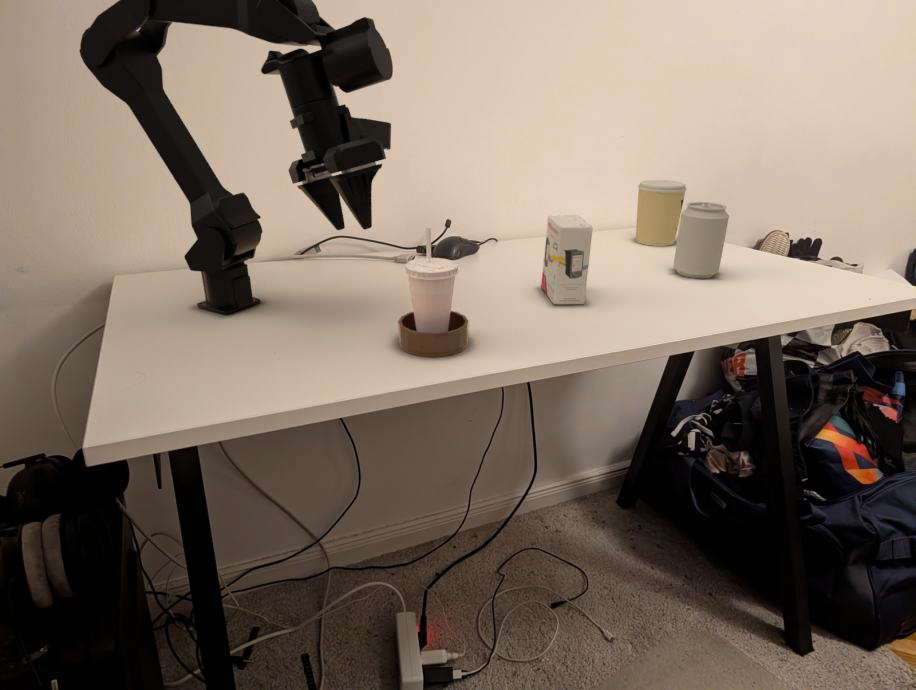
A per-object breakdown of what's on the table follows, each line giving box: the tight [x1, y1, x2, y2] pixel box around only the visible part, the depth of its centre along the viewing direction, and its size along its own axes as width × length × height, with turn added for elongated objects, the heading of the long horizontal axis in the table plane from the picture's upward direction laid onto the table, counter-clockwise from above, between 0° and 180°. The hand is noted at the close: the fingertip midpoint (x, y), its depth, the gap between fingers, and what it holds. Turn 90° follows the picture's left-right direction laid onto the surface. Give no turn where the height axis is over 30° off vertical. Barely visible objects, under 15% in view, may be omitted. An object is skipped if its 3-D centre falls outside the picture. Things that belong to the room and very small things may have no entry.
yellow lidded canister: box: [635, 179, 687, 247], centre depth 125 cm, size 9×9×12 cm
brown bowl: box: [397, 310, 470, 358], centre depth 76 cm, size 9×9×3 cm
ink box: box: [540, 214, 593, 305], centre depth 91 cm, size 9×5×12 cm, turn 6°
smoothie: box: [404, 226, 459, 333], centre depth 74 cm, size 6×6×14 cm
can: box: [672, 201, 730, 279], centre depth 103 cm, size 8×8×12 cm
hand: (353, 229), depth 79 cm, fingers open, 9 cm apart
